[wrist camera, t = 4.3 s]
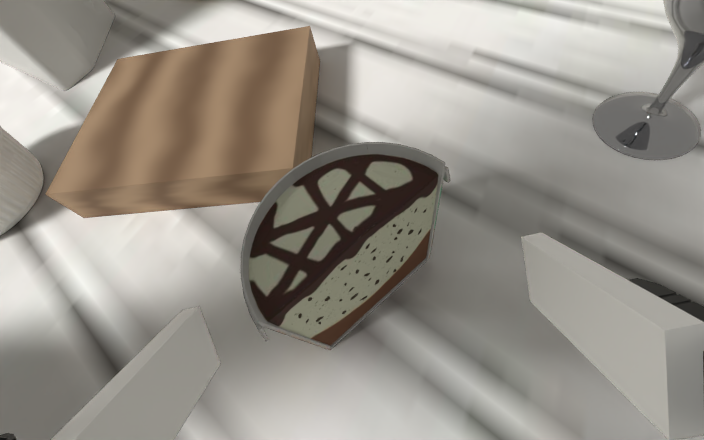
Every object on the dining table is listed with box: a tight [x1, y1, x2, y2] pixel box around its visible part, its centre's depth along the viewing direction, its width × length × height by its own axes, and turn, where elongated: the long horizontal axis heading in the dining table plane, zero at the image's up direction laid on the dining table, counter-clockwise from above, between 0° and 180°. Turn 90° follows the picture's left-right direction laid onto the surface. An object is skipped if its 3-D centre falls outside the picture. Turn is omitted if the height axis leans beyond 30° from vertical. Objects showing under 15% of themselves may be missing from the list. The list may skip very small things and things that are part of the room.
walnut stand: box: [45, 26, 320, 218], centre depth 35 cm, size 22×18×4 cm
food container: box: [241, 142, 450, 350], centre depth 22 cm, size 12×6×10 cm, turn 130°
